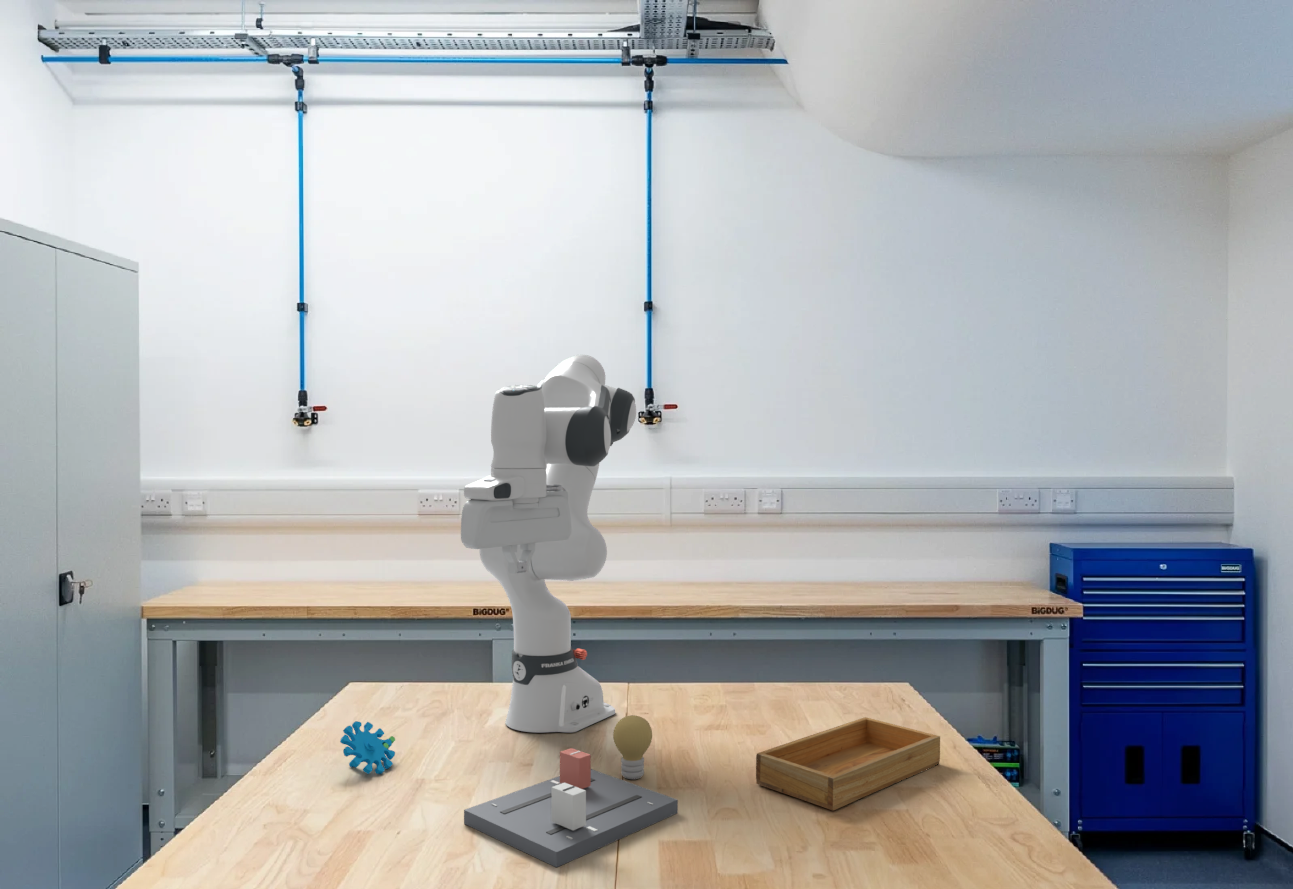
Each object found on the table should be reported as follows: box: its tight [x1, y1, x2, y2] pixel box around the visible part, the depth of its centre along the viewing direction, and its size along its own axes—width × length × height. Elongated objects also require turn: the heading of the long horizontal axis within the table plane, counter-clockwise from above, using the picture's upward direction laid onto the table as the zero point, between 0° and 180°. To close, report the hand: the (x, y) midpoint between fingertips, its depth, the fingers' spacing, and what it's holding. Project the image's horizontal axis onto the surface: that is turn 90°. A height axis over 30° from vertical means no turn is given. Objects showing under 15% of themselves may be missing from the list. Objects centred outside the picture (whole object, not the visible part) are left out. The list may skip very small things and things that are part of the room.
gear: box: [339, 720, 396, 775], centre depth 158 cm, size 11×6×10 cm
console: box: [463, 768, 679, 868], centre depth 137 cm, size 24×20×2 cm
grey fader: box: [552, 782, 586, 830], centre depth 130 cm, size 2×4×5 cm, turn 47°
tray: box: [755, 716, 941, 811], centre depth 155 cm, size 31×15×6 cm, turn 133°
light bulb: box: [612, 715, 653, 780], centre depth 153 cm, size 6×6×10 cm
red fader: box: [559, 747, 592, 789], centre depth 144 cm, size 2×4×5 cm, turn 47°
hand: (518, 572), depth 150 cm, fingers closed
